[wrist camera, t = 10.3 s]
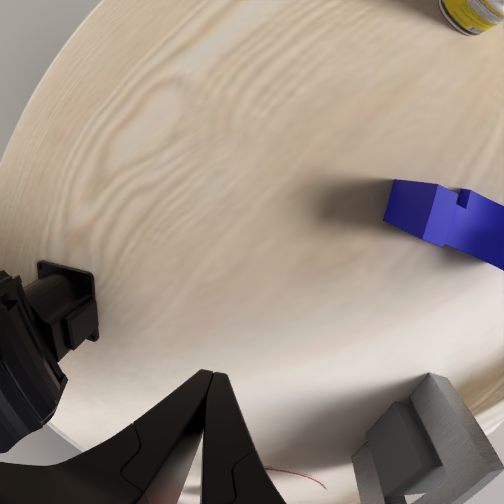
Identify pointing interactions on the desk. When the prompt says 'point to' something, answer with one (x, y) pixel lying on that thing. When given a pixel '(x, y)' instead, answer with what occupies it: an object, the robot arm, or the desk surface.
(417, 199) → the cable clip
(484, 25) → the supplement bottle
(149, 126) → the desk surface
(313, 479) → the figurine
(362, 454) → the frame
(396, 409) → the plug
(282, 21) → the desk surface
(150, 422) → the robot arm
